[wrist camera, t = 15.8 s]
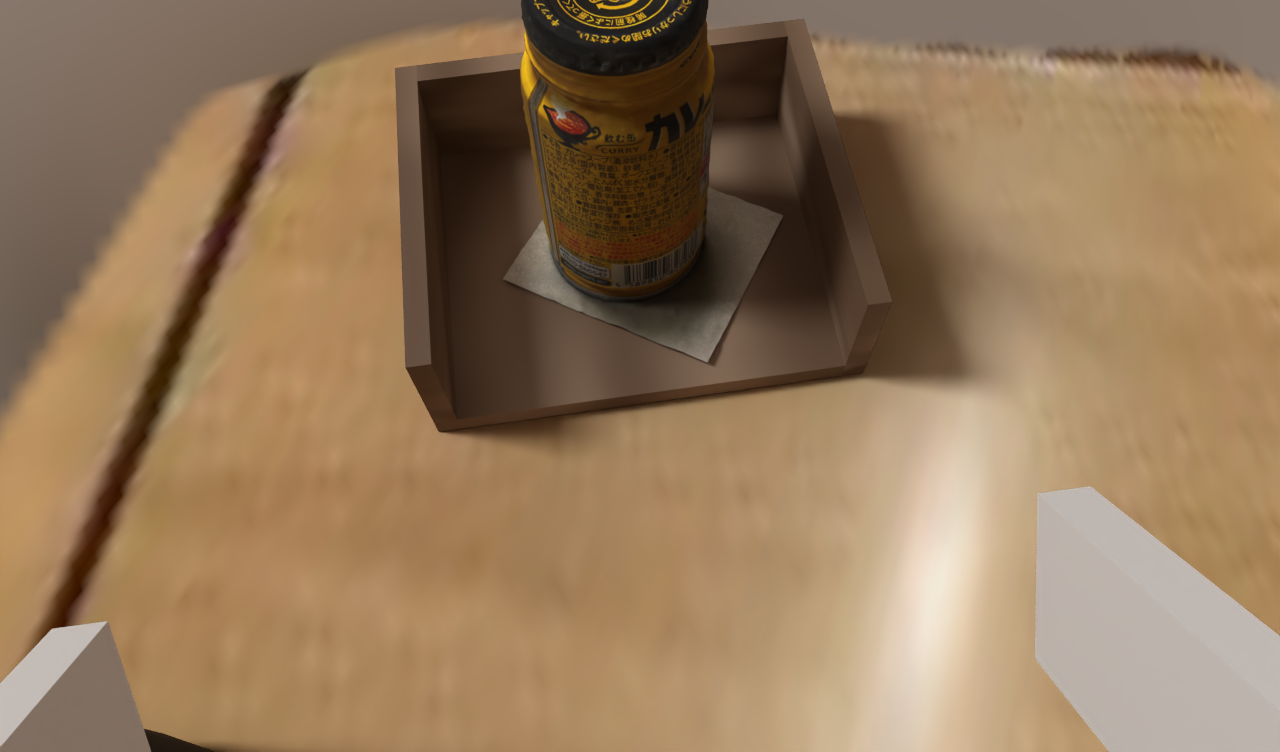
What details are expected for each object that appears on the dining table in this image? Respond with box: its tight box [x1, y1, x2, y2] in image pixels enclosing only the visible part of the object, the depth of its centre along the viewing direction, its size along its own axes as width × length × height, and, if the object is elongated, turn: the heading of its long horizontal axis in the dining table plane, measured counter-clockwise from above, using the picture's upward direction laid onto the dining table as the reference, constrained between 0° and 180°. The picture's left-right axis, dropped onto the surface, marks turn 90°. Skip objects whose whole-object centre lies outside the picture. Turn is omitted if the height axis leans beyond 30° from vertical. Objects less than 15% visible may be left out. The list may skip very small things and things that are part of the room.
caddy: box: [395, 19, 892, 432], centre depth 35 cm, size 16×13×5 cm
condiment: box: [503, 0, 783, 362], centre depth 31 cm, size 7×8×12 cm
